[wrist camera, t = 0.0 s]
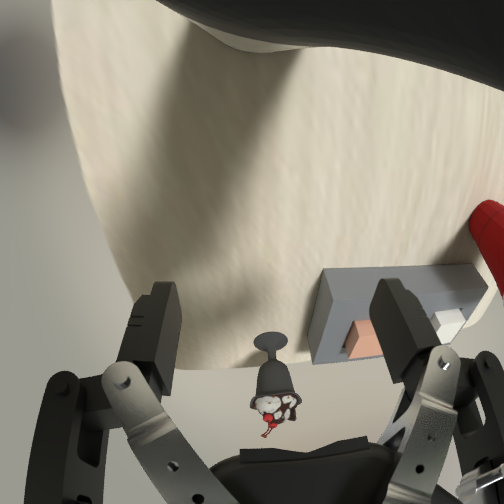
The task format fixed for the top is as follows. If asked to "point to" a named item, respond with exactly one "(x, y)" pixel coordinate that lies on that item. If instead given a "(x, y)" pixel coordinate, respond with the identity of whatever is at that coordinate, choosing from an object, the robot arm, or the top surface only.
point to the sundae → (274, 384)
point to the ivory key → (447, 324)
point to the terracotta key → (362, 340)
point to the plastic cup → (490, 237)
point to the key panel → (362, 291)
